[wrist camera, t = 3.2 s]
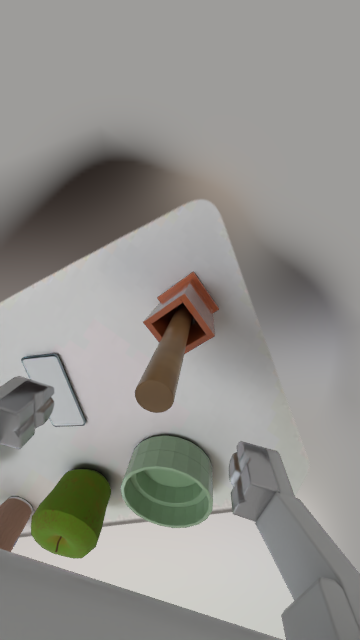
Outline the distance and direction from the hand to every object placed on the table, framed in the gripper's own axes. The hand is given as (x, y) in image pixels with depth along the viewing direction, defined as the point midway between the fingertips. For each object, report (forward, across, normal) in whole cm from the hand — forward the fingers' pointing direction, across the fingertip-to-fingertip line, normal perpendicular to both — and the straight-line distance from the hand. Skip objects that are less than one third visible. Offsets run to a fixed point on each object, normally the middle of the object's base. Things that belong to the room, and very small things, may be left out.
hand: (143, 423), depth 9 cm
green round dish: (+20, -5, +32) cm, 38 cm away
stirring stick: (+20, 0, 0) cm, 20 cm away
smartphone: (+20, +18, +22) cm, 35 cm away
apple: (+20, +10, +44) cm, 49 cm away
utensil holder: (+20, 0, 0) cm, 20 cm away
